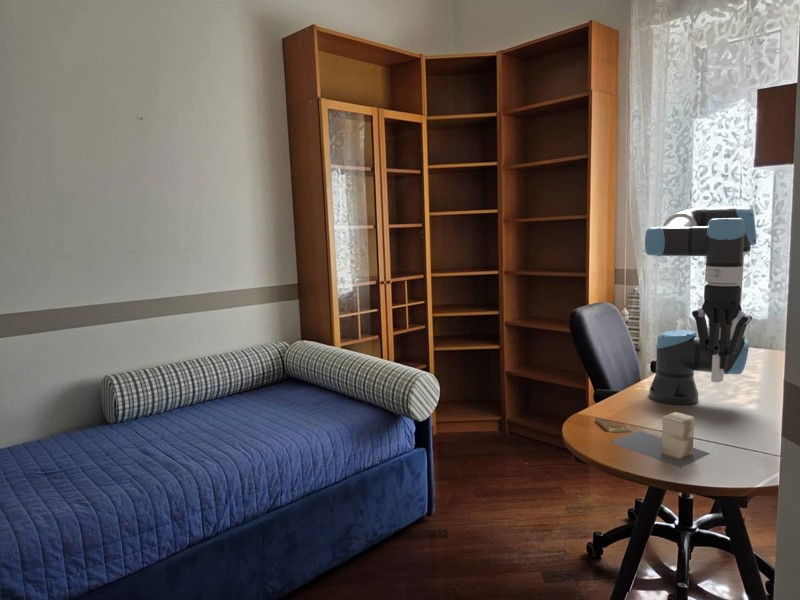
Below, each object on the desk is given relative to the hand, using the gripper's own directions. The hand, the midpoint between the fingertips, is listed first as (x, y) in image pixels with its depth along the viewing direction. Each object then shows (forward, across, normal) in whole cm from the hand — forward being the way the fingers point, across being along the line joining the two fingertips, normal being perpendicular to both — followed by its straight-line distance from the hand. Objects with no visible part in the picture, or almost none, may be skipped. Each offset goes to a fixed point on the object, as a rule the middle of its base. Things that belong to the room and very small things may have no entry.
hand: (717, 380), depth 134 cm
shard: (+23, -31, +3) cm, 39 cm away
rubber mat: (+22, -14, 0) cm, 26 cm away
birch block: (+22, -9, 0) cm, 23 cm away
